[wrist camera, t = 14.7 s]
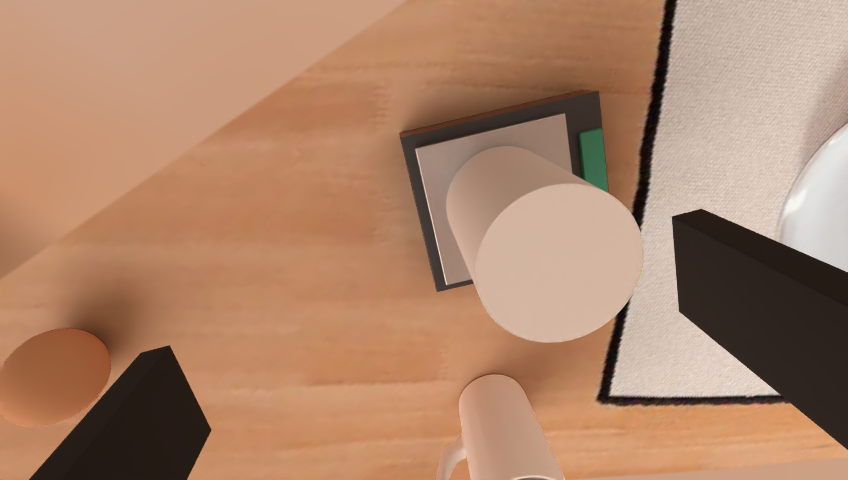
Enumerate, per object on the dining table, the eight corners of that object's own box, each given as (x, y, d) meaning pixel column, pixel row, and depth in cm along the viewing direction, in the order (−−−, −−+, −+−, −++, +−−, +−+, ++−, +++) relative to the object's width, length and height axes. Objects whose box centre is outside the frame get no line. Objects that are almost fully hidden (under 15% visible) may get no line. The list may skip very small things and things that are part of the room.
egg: (88, 393, 41) (19, 467, 34) (27, 339, 39) (-62, 405, 32) (145, 354, 41) (88, 420, 33) (86, 297, 39) (10, 353, 31)
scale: (399, 133, 36) (400, 138, 33) (582, 89, 36) (601, 91, 33) (433, 277, 40) (437, 294, 37) (598, 238, 40) (617, 252, 37)
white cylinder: (498, 278, 36) (548, 371, 25) (422, 204, 34) (439, 269, 23) (582, 203, 35) (675, 266, 24) (508, 120, 33) (573, 145, 21)
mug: (508, 358, 43) (551, 459, 32) (540, 411, 45) (591, 523, 34) (410, 409, 44) (418, 525, 33) (446, 459, 46) (465, 583, 35)
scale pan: (414, 147, 34) (415, 148, 33) (561, 112, 34) (565, 113, 33) (445, 281, 37) (446, 285, 36) (578, 249, 37) (582, 253, 36)
